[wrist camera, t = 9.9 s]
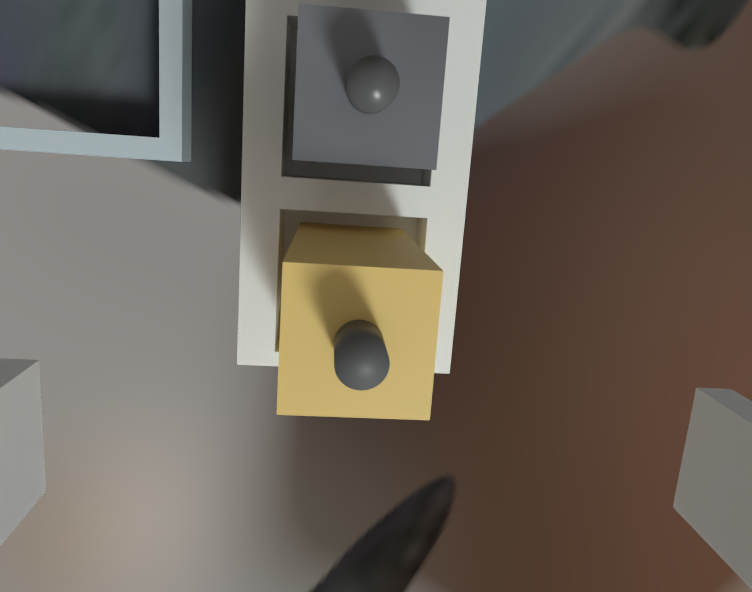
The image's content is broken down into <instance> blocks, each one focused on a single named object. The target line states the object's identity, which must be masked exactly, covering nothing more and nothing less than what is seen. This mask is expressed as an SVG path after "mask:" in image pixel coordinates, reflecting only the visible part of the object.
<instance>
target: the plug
mask: <svg viewBox="0 0 752 592" xmlns="http://www.w3.org/2000/svg"><path fill="white" fill-rule="evenodd" d="M443 272H444V271H443V270H442V269H441V268H440V267H439V266H438V265H437V264H436V263H435V262H434V261H433V260H432V259H431V258H430V257H429V256H428V255H427V254H426V253H425V252H424V251H423V250H422V249H421V248H420V247H419V246H418V245H417V244H416V243H415V242H414V241H413V240H412V239H411V238H410V237H409V236H408V235H407V234H406V233H405V232H404V231H403V230H402V229H401V228H387V227H371V226H355V225H339V224H323V223H306V222H300V224H299V226H298V229H297V231H296V233H295V235H294V238H293V240H292V242H291V244H290V247H289V249H288V251H287V253H286V255H285V258H284V260H283V264H282V290H281V316H280V342H279V369H278V396H277V415H300V416H301V415H302V416H328V417H329V416H330V417H355V418H356V417H357V418H384V419H412V420H430V411H431V401H432V390H433V379H434V368H435V358H436V347H437V336H438V326H439V315H440V304H441V293H442V283H443Z"/></svg>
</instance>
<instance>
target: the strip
mask: <svg viewBox="0 0 752 592" xmlns="http://www.w3.org/2000/svg"><path fill="white" fill-rule="evenodd" d="M485 10H486V0H246V13H245V55H244V97H243V139H242V181H241V223H240V224H241V225H240V267H239V310H238V311H239V312H238V350H237V352H238V354H237V364H239V365H261V366H279V342H280V316H281V290H282V264H283V260H284V258H285V255H286V253H287V251H288V249H289V247H290V244H291V242H292V240H293V238H294V235H295V233H296V231H297V229H298V226H299V224H300V222H306V223H323V224H339V225H355V226H371V227H387V228H401V229H402V230H403V231H404V232H405V233H406V234H407V235H408V236H409V237H410V238H411V239H412V240H413V241H414V242H415V243H416V244H417V245H418V246H419V247H420V248H421V249H422V250H423V251H424V252H425V253H426V254H427V255H428V256H429V257H430V258H431V259H432V260H433V261H434V262H435V263H436V264H437V265H438V266H439V267H440V268H441V269H442V270H443V271H444V272H443V283H442V293H441V304H440V315H439V326H438V336H437V347H436V358H435V368H434V373H450V364H451V353H452V343H453V333H454V323H455V313H456V302H457V292H458V282H459V273H460V262H461V252H462V242H463V232H464V222H465V212H466V201H467V191H468V182H469V171H470V162H471V151H472V141H473V131H474V121H475V111H476V101H477V91H478V81H479V71H480V61H481V50H482V40H483V30H484V20H485Z"/></svg>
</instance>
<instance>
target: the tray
mask: <svg viewBox="0 0 752 592" xmlns="http://www.w3.org/2000/svg"><path fill="white" fill-rule="evenodd" d="M191 105H192V0H159V138H156V137H142V136H128V135H114V134H100V133H86V132H72V131H59V130H45V129H31V128H16V127H3V126H0V149H6V150H21V151H34V152H49V153H64V154H78V155H92V156H108V157H121V158H136V159H150V160H165V161H179V162H187V161H191Z"/></svg>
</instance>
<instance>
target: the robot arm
mask: <svg viewBox="0 0 752 592" xmlns="http://www.w3.org/2000/svg"><path fill="white" fill-rule="evenodd" d="M45 491H46V484H45V465H44V447H43V428H42V410H41V391H40V372H39V360H24V359H23V360H22V359H0V546H1V544H2V543H3V542H4V541H5V540H6V538H7V537H8V536H9V535H10V534H11V532H12V531H13V530H14V529H15V528H16V526H17V525H18V524H19V523H20V521H21V520H22V519H23V518H24V517H25V516H26V514H27V513H28V512H29V511H30V510H31V508H32V507H33V506H34V505H35V503H36V502H37V501H38V500H39V499H40V497H41V496H42V495H43V494H44V493H45ZM673 507H674V508H675V509H676V510H677V512H678V513H679V514H680V515H681V516H682V517H683V518H684V519H685V520H686V521H687V522H688V523H689V524H690V525H691V526H692V527H693V528H694V529H695V530H696V532H698V534H699V535H700V536H701V537H702V538H703V539H704V540H705V541H706V542H707V543H708V544H709V545H710V546H711V547H712V548H713V549H714V550H715V551H716V552H717V553H718V555H719V556H720V557H721V558H722V559H723V560H724V561H725V562H726V563H727V564H728V565H729V566H730V567H731V568H732V569H733V570H734V571H735V572H736V574H738V576H739V577H740V578H741V579H742V580H743V581H744V582H745V583H746V584H747V585H748V586H749V587H750V588H751V589H752V401H750V400H748V399H747V398H745V397H743V396H742V395H740V394H738V393H737V392H735V391H733V390H732V389H712V388H696V392H695V397H694V402H693V408H692V413H691V418H690V423H689V428H688V433H687V438H686V443H685V449H684V453H683V458H682V463H681V469H680V474H679V479H678V484H677V489H676V494H675V499H674V504H673Z"/></svg>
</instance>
